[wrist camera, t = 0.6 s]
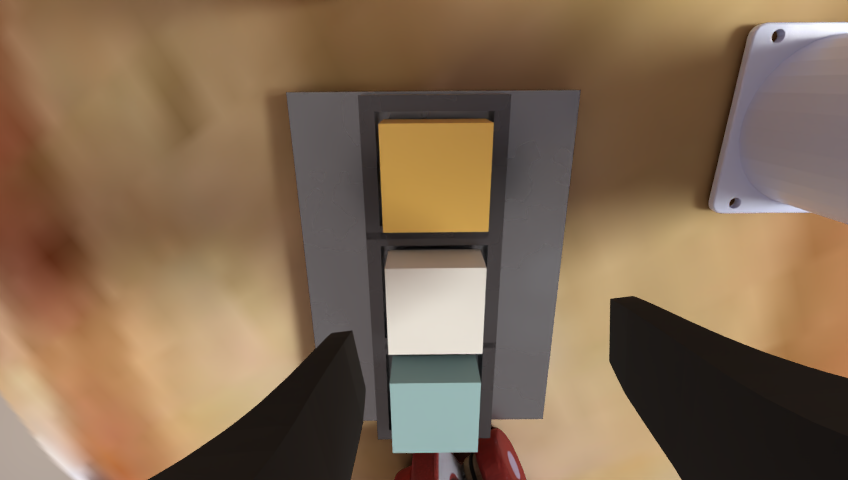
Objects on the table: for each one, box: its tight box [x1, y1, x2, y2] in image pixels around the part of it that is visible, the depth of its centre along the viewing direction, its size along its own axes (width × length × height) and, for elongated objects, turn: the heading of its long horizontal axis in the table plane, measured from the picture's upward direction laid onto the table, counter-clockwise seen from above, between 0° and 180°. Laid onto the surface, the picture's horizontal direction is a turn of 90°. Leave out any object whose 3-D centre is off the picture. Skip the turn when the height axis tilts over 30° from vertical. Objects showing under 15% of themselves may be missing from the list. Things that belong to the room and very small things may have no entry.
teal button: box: [390, 355, 481, 453], centre depth 20 cm, size 4×4×2 cm
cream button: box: [385, 249, 487, 355], centre depth 18 cm, size 4×4×2 cm
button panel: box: [286, 90, 581, 439], centre depth 20 cm, size 12×17×3 cm
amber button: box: [378, 118, 494, 233], centre depth 16 cm, size 4×4×2 cm
